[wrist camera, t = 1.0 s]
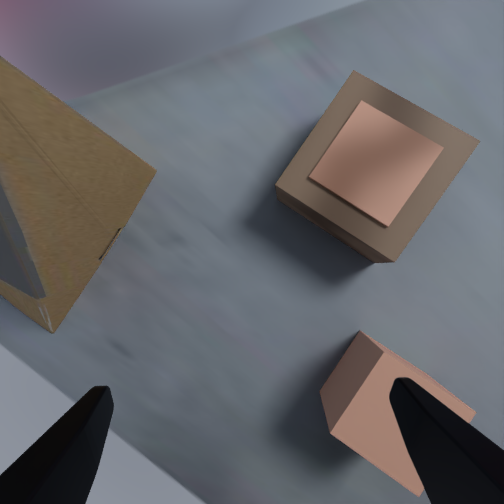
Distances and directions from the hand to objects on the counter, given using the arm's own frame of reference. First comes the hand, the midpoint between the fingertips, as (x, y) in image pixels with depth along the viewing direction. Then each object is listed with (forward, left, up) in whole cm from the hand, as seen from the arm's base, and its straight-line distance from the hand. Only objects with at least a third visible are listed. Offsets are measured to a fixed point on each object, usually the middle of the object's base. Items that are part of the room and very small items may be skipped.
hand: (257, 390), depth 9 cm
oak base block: (0, -11, -11) cm, 16 cm away
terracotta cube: (-8, 0, -11) cm, 14 cm away
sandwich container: (+18, +3, -12) cm, 21 cm away
